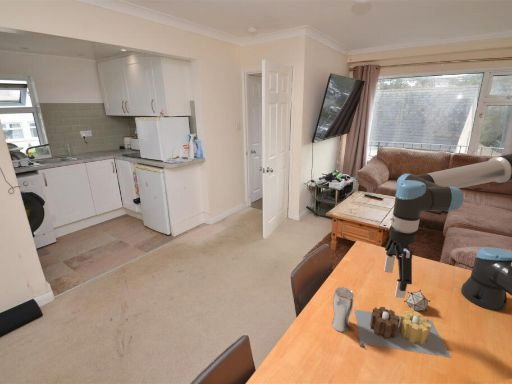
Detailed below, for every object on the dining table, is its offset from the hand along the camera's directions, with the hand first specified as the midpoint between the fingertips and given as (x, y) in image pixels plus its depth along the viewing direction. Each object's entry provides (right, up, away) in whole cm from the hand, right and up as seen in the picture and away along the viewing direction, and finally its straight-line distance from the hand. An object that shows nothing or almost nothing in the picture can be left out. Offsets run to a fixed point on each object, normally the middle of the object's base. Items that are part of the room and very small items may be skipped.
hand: (393, 283), depth 92 cm
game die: (+18, -16, +17) cm, 29 cm away
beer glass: (-16, -19, +9) cm, 26 cm away
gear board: (+4, -20, +5) cm, 21 cm away
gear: (+9, -19, +3) cm, 21 cm away
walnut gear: (-1, -18, +5) cm, 19 cm away
